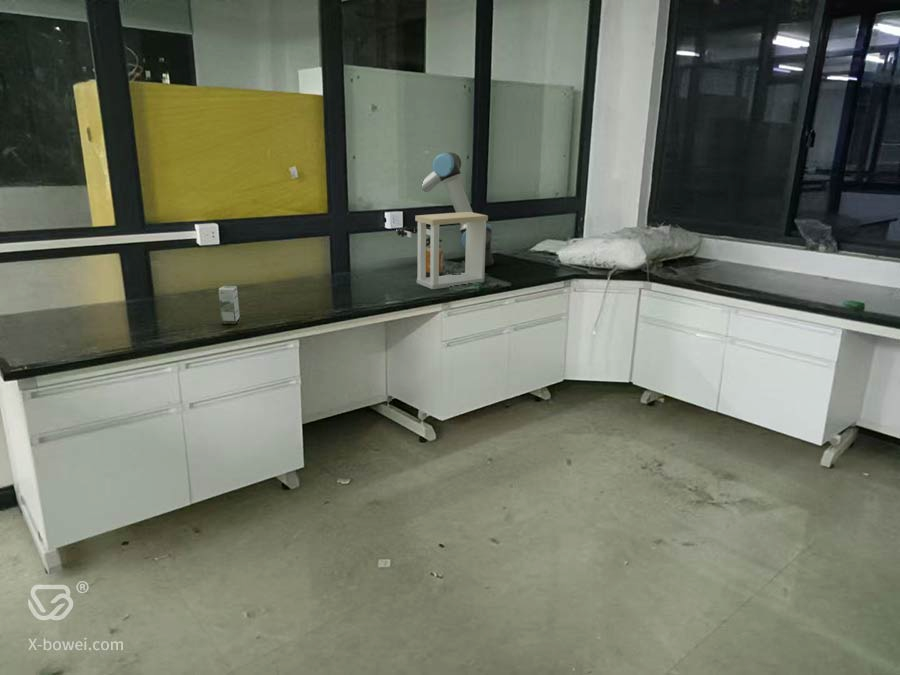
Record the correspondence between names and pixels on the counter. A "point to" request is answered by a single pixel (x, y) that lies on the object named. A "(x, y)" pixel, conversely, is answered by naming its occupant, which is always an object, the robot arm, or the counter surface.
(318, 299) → the counter surface
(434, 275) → the under-counter shelf
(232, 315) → the syrup box
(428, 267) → the canister
